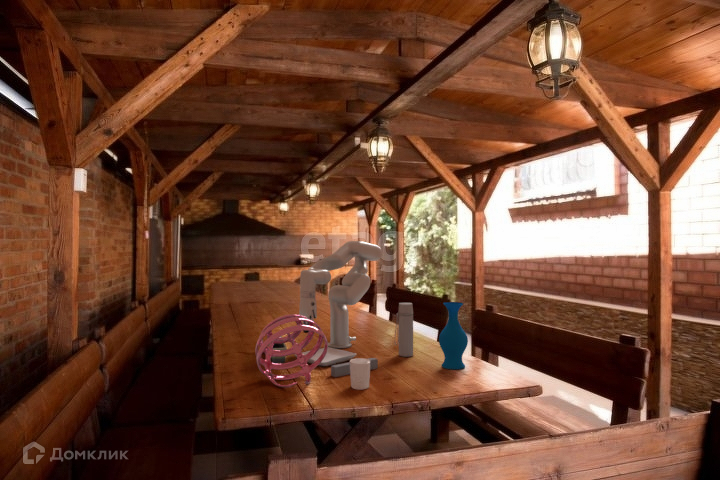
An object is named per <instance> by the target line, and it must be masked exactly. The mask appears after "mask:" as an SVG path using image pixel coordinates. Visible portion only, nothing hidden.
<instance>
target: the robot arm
mask: <svg viewBox="0 0 720 480" xmlns="http://www.w3.org/2000/svg"><path fill="white" fill-rule="evenodd" d="M382 256H383V249H382V248H381V247H380V246H379V245H377V244H374V243H369V242H366V241H362V240H349V241H347V242H344V244H343V245H341V246H340V247H339V248H338V249H337V250H336V251H334V252H333V253H332V254H331V255H328V256H325V257H324V258H322V259H320V260H318V261H316V262H314V263H313V264H312V265H311V266H310V267H309V268H308V269H302V270H301V271H300V277H299V278H300V279H299V282H300V284H299V287H300V288H299V289H300V290H299V299H300V300H299V311H298V315H302V316H305V317H307V318H308V319H311V320H313V321H314V322H315V319H317V317H318V307H317V300H316V298H317V297H316V288H317V285H326V284H329V282H331V280H332V274H331V271H335V270H338V269H341V268H343V267H344V266H345V265H347V264H348V263H349V262H350V261H351V260H352V259H353V258H354V264H353V266H352V267H351V268H350V269H349V271H348V272H347V273H346V274H345V275H344V276H343V278H342V280H341V285H340V284H339V285H338V284H337V285H333V286H331V287H330V289H329V290H328V293H327V295H328V296H327V297H328V301H329V311H330V315H329V316H330V317H329V318H330V328H329V329H330V333H329V334H330V336H329V337H330V341H329V342H328V347H330V348H334V349H346V348H350V347H352V345H353V344H352V343H351V342H352V341H357V337H356V336H352V337H351V336H350V335H349V327H350V326H349V324H350V323H349V321H350V320H349V308H348V306H354V305H356V304H358V303H359V302H360V300H361V299H362V298H363V296H364V295H366V293H367V292H368V290H369V288H370V287H371V278H370V275H368V271H369V268H368V263H367V262H368V261H369V262H376V261H379V260H380V259H381V258H382ZM302 323H303V325H309V324H308V322H306V321H302ZM302 332H303V333H305V334H308V332H309V331H305V330H303V331H302Z"/></svg>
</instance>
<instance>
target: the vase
mask: <svg viewBox="0 0 720 480" xmlns="http://www.w3.org/2000/svg"><path fill="white" fill-rule="evenodd" d="M443 305H444V306H445V308H446V309H447V312H448V318H447V323H446V325H445V326H444V327H443V329H442V330H441V332H440V333H439V335H438V336H439V337H438V344H439V346H440V348H441V351H442V352H443V356H444V360H443V362H442V364H441V367H442V368H444V369H447V370H453V371H454V370H455V371H456V370H463V369H465V368H466V365H465V363H464V362H463V355H464V353H465V351H466V349H467V346H468V342H469V339H468V335H467V333H466V331H465V330H464V329H463V327H462V325H461V324H460V322H459V321H460V320H459V316H458V315H459V310H460V308H461V307H462V306H464V302H459V301H457V302H456V301H447V302H443Z"/></svg>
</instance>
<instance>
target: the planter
mask: <svg viewBox="0 0 720 480" xmlns="http://www.w3.org/2000/svg"><path fill="white" fill-rule="evenodd" d="M281 337H283V336H281ZM267 339H268V338H267V337H266V340H267ZM269 345H270V344H269ZM269 345H268V346H267V347H269ZM286 349H288V347H287V345H286V343H280V344H279V343H275V344H274V345H273V350H286ZM286 357H287V356H283V357H274V356H272V357H271V358H270V359H271V362H272V363H276V364H281V363H286Z"/></svg>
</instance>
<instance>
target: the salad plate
mask: <svg viewBox="0 0 720 480" xmlns="http://www.w3.org/2000/svg"><path fill="white" fill-rule="evenodd" d="M324 348H325V347H323V348H321V347H320V349H319V350H318V351H317V353H316V354H315V355H314V356H313V357H312V358H310V359H309V360H308V361H307V363H309V364H311V365H312V364H313V363H314V362H315V361H316V360H317V359H318V358H319V357H320V356H321V354H322V352H323V350H324ZM310 351H311V350H308V351H304V352H302V354H303V355H306V354H307V353H309V352H310ZM294 356H295V358H296V359H297V355H296V354H294ZM356 356H357V353H356V352H351V351H348V350H343V349H340V348H331V347H328V349H327V353H326V355H325V357H324V359H323V360H322V362H321V363H320V364H319V365H318V366H320V367H328V366H333V365H337V364H341V363H343V362H344V363H345V362H347V361H350V360H351V359H354V358H355V357H356ZM336 363H337V364H336Z"/></svg>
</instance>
